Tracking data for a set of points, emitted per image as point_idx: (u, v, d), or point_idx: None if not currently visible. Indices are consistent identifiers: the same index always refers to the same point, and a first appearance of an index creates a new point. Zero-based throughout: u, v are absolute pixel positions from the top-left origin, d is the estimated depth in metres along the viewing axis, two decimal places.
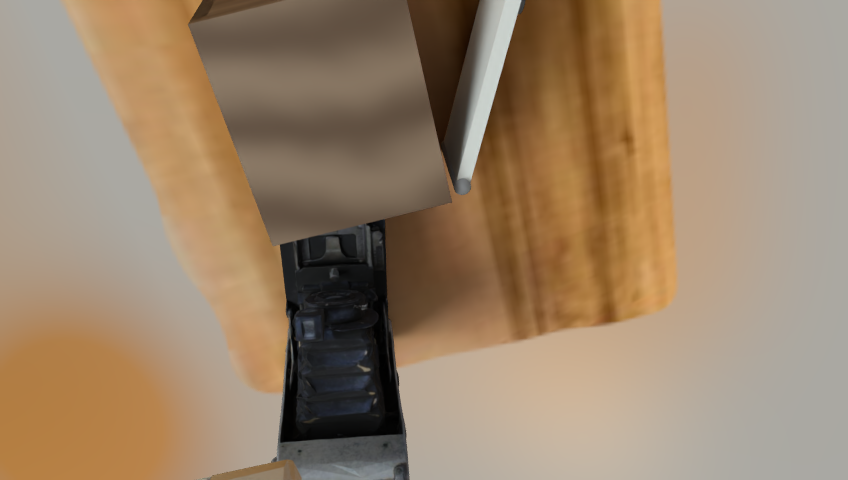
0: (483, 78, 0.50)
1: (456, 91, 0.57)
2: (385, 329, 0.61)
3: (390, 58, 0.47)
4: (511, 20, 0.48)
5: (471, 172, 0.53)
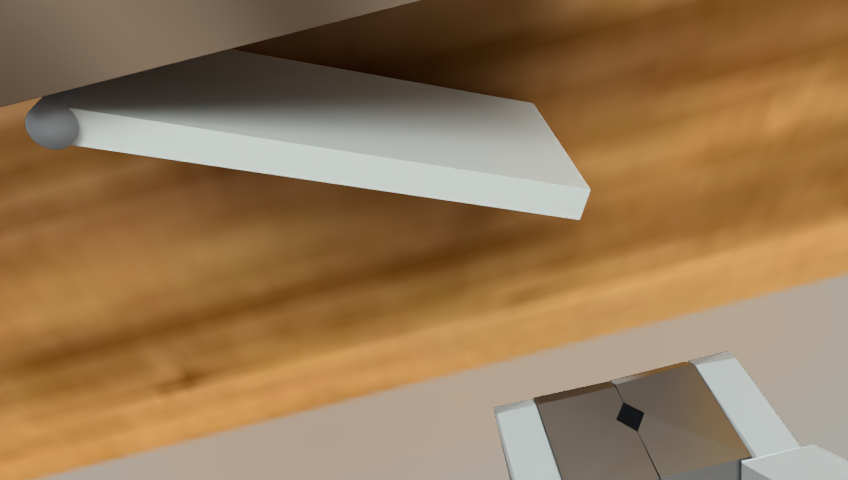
0: (367, 151, 0.20)
1: None
2: None
3: None
4: (505, 200, 0.21)
5: (102, 145, 0.19)
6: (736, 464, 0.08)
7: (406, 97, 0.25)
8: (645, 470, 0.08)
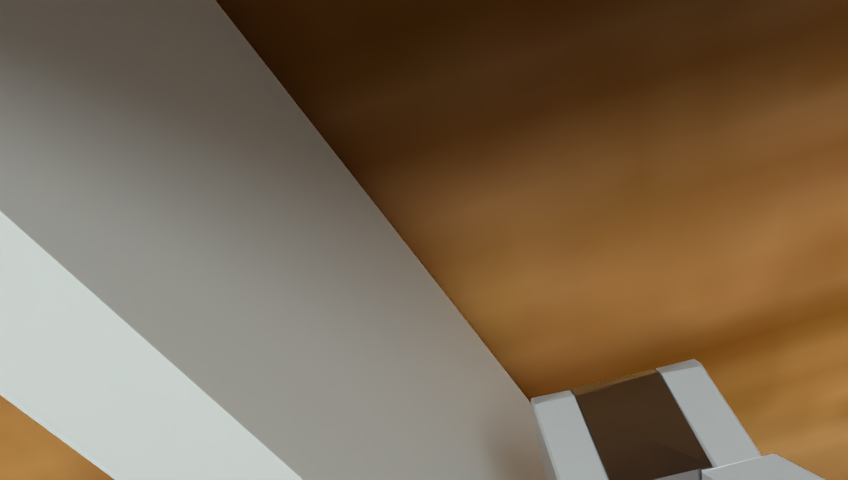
0: None
1: (310, 122, 0.11)
2: None
3: None
4: None
5: None
6: (697, 474, 0.08)
7: (489, 392, 0.12)
8: (606, 479, 0.08)
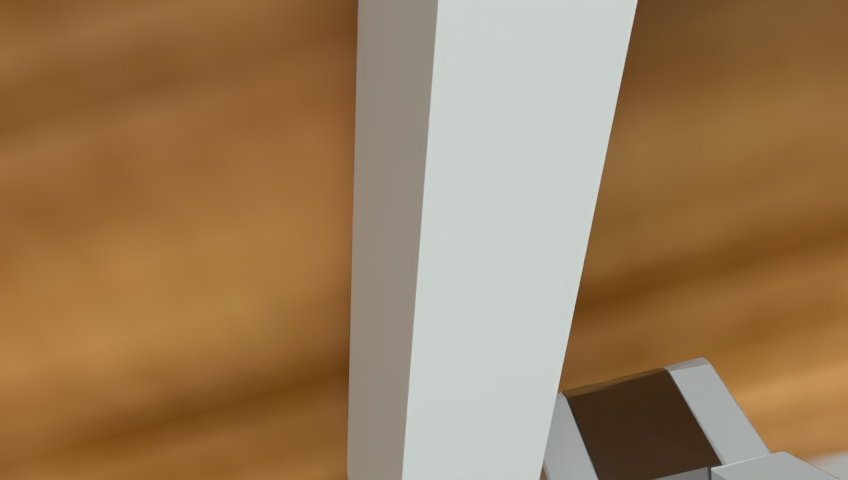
0: None
1: None
2: None
3: None
4: None
5: None
6: (706, 471, 0.08)
7: None
8: (616, 477, 0.08)
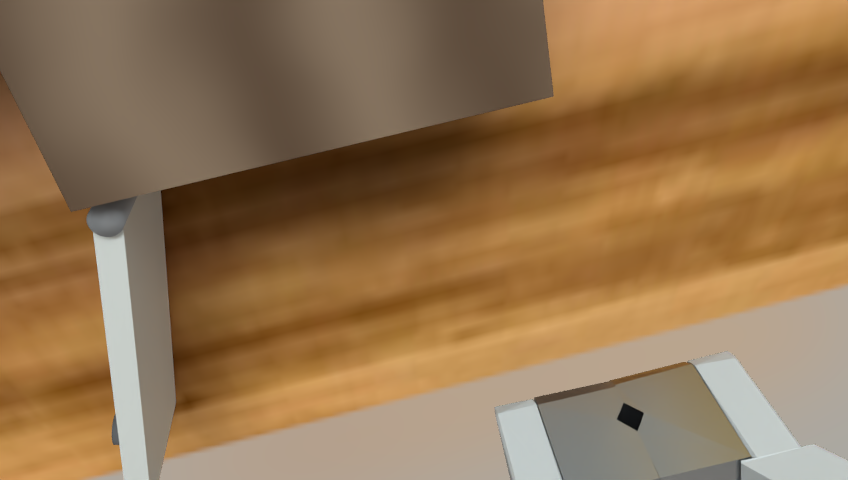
0: (141, 392, 0.30)
1: (163, 235, 0.34)
2: None
3: (393, 79, 0.23)
4: (129, 472, 0.31)
5: (98, 247, 0.26)
6: (736, 464, 0.08)
7: (164, 346, 0.35)
8: (645, 470, 0.08)
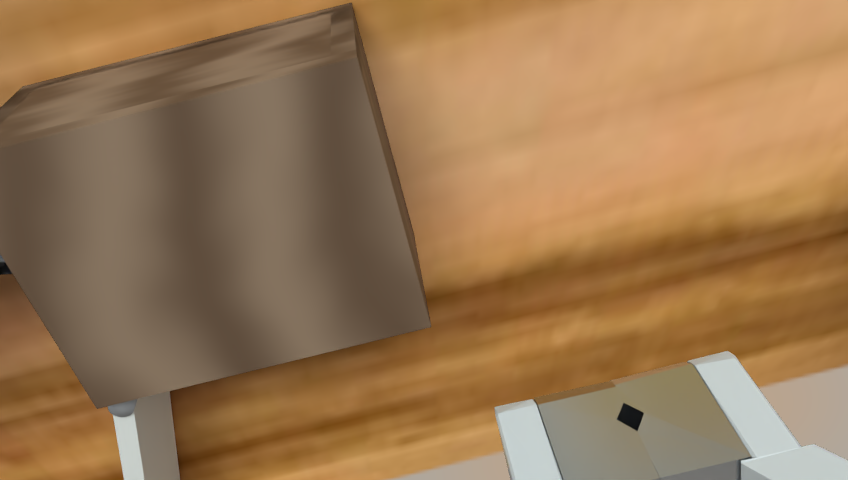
0: None
1: None
2: None
3: (315, 322, 0.34)
4: None
5: (116, 422, 0.37)
6: (736, 464, 0.08)
7: (170, 461, 0.46)
8: (645, 470, 0.08)
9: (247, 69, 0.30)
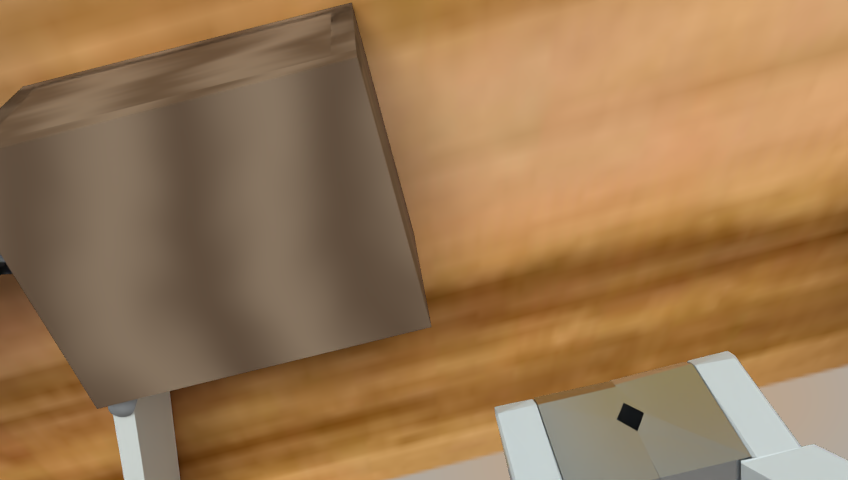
0: None
1: None
2: None
3: (315, 322, 0.34)
4: None
5: (116, 422, 0.37)
6: (736, 464, 0.08)
7: (170, 461, 0.46)
8: (645, 470, 0.08)
9: (247, 69, 0.30)
